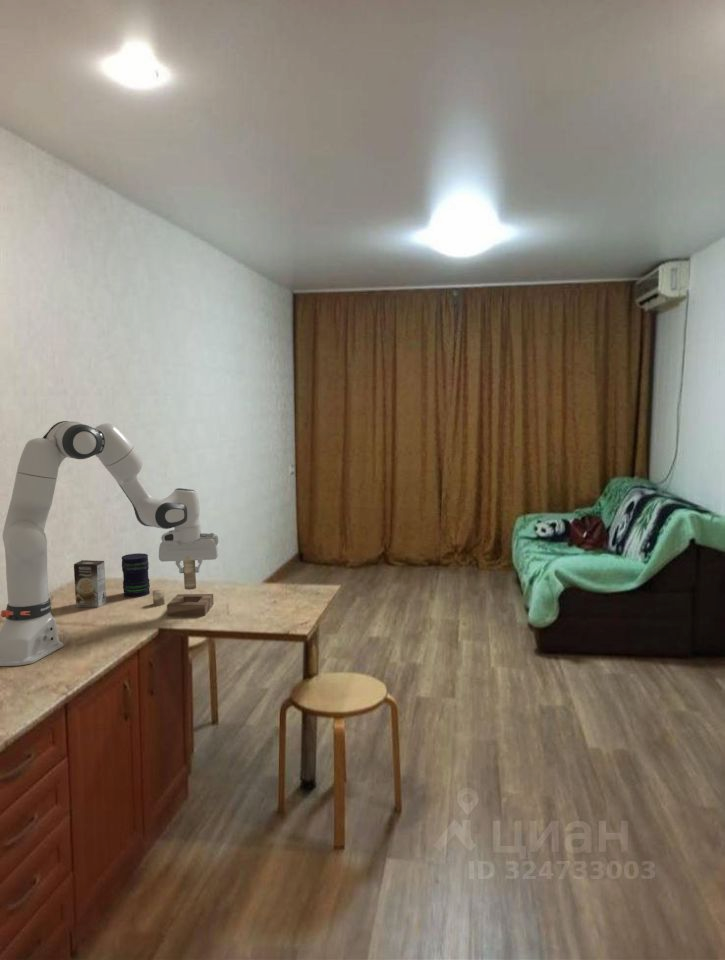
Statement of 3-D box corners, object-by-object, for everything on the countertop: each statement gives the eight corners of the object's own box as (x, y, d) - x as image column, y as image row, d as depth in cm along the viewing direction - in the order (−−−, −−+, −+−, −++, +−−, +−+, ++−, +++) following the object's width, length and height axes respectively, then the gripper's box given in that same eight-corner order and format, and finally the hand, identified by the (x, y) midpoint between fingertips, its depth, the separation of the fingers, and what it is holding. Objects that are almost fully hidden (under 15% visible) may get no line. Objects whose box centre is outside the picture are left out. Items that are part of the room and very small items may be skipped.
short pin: (162, 605, 249) (162, 592, 249) (151, 605, 249) (151, 592, 249) (166, 602, 253) (165, 589, 253) (155, 602, 253) (154, 589, 253)
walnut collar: (204, 615, 237) (204, 604, 236) (167, 616, 237) (166, 604, 236) (213, 604, 249) (213, 593, 249) (178, 605, 250) (177, 594, 249)
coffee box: (75, 607, 249) (72, 564, 247) (83, 602, 255) (81, 560, 254) (99, 607, 248) (96, 564, 246) (107, 602, 254) (104, 560, 253)
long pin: (192, 589, 240) (190, 556, 238) (182, 589, 241) (180, 555, 240) (198, 586, 244) (196, 553, 242) (188, 586, 245) (187, 553, 243)
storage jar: (139, 598, 259) (137, 559, 258) (117, 596, 262) (115, 558, 261) (155, 591, 269) (153, 554, 267) (134, 589, 272) (132, 552, 270)
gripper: (218, 531, 244) (220, 569, 246) (160, 533, 242) (162, 571, 244) (216, 534, 238) (218, 573, 239) (156, 536, 236) (158, 575, 238)
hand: (189, 572), depth 242 cm, fingers closed on long pin, 4 cm apart
